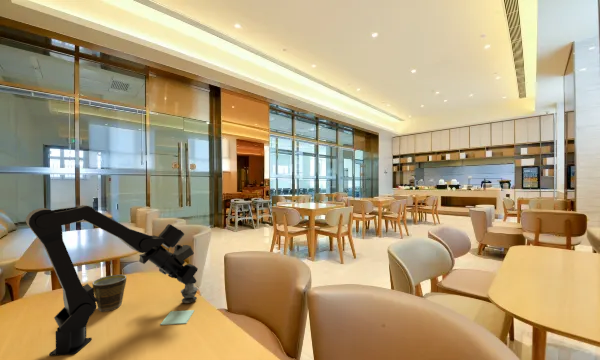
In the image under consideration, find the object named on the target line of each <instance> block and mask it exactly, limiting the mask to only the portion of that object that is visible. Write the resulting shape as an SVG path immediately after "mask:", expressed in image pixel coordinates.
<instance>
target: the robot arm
mask: <svg viewBox="0 0 600 360" xmlns="http://www.w3.org/2000/svg"><path fill="white" fill-rule="evenodd" d="M81 221H85V222H87V223H89V224H91V225H93V226H95V227H97V228H99V229H100V230H103V231H104V232H107V233H108V234H111V235H113V236H114V237H116V238H118V239H119V240H121V242H123V243H124V244H125V245H126V246H127V247H129V248H130V249H132V250H134V251H135V252H137V253H141V254H139V263H141V264H143V265H145V264H146V263H147V262H148V261H149V262H150V263H152V264H154V266H155V267H156V268H157V269H158V271H159V272H160V273H162V274H163V275H165V276H166V275H167V276H168V277H169V278H172V279H176V280H177V281H178V282H180V283H181V284H184V286H185V285H186V284H188V283H194V285H195V284H196V283H197V280H196V278H195V275H196V273H197V272H198V267H196V266H195V265H193V264H191V263H187V264H186V261H185V260H187V259H188V258H190V257H192V256H193V255H194V254H195V253H194V250H193V248H192V246H191V245H188V244H183V245H181V244H178V243H179V242H180V241H181V239H182V238H183V237H184V236H185V233H184V231H183V230H181V229H179V228H177V227H176V226H174V225H173V224H167V225H166V227H165V228H164V229H163V230H162V232H160V234H159V235H154V234H153V235H149V234H146V233H144V232H140V231H138V230H135V229H131V228H129V227H127V226H125V225H123V224H122V223H120V222H118V221H116V220H114V219H112V218H111V217H110V216H107V215H105V214H103V213H102V212H100V211H98V210H96V209H95V208H94V207H93V206H90V205H87V204H86V205H83V204H82V205H78V206H73V207H66V208H57V209H50V208H47V207H46V208H45V207H44V208H43V207H41V208H36V209H33V210H32V211H30V212H28V214H27V215H26V217H25V223H26V224H27V226H28V227H29V229H30V230H31V231H32V232H33V234H34V235H35V236H36V238H37V239H38V240H39V241H40V243H41V244H42V245H43V247H44V250H45V252H46V254H47V257H48V259H49V262H50V263H51V266H52V268H53V270H54V272H55V275H56V277H57V280H58V282H59V284H60V286H61V289H62V299H63V305H64V306H63V308H62V309H61V310H60V311H59V312H58V313H56V314H55V316H54V317H53V319H54V321H55V323H56V324H57V326H58V327H57V328H56V331H55V348H54V349H53V350H52V351H50V352H49V356H65V355H66V356H67V355H75V354H77V353H78V352H80V351H81V349H83V348H84V347H85V346H86V345H88V344H89V343H90V342H91V341H92V338H93V337H87V325H88V322H89V320H90V317H91V316H92V315H93V314H94V313H95V311H96V310H97V308H98V306H97V302H98V300H97V299H96V298H95V294H94V290H93V286H91V285H89V283H86V284H84V285H83V284H82V282H81V280H80V277H79V275H78V273H77V270H76V268H75V266H74V263H73V261H72V258H71V257H70V254H69V251H68V249H67V247H66V245H65V242H64V239H63V226H64V225H69V224H73V223H77V222H81ZM166 248H167V249H170V248H171V249H173V248H174V251H173V253H172V252H170V251H169V250H167V249H166ZM184 264H185V265H184Z"/></svg>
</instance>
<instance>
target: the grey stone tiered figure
mask: <svg viewBox="0 0 600 360" xmlns="http://www.w3.org/2000/svg"><path fill="white" fill-rule="evenodd" d="M198 290H199V289H198V287H195V284H194V283H188V284H186V285H185V284H184V288H182V289H181V290H180V293H181V296H182V297H183V298H182V299H181V303H184V304H188V303H193V302H195V301H196V300H198V299H197V296H196V295H197V292H198Z"/></svg>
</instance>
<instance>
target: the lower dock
mask: <svg viewBox="0 0 600 360" xmlns="http://www.w3.org/2000/svg"><path fill="white" fill-rule="evenodd" d="M194 312H195V310H194V309H191V310H190V309H189V310H188V309H187V310H173V311H172V310H171V311H170V312H169V313H168V314H167V315H166V316H165V318H164V319H163V320H162V322H161V323H160V326H165V325H166V326H169V325H186V324H188V322H189V321H190V319H191V317H192V316H193V314H194Z"/></svg>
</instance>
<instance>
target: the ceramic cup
mask: <svg viewBox="0 0 600 360" xmlns="http://www.w3.org/2000/svg"><path fill="white" fill-rule="evenodd" d="M126 284H127V275H126V274H113V275H107V276H104V277H100V278H97V279H95V280H93V281H92V288H93V290H94V295H95V298H96V299H97V300H98V302H96V306H97V309H98V311H99V312H110V311H113V310H116V309H117V308H119V307H120V306H122V304H123V299H124V294H125V289H126Z"/></svg>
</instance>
